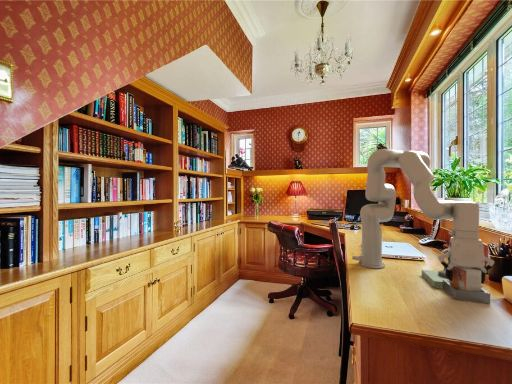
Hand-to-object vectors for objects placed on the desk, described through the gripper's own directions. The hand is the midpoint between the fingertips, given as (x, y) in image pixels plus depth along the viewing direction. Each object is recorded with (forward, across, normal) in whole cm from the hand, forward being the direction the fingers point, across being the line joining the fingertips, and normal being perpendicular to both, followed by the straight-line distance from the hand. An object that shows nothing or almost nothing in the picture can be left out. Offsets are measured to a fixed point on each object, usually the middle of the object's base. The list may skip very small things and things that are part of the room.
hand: (464, 281), depth 97 cm
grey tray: (+5, 0, 0) cm, 5 cm away
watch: (+6, +7, +32) cm, 33 cm away
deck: (+5, 0, +14) cm, 15 cm away
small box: (+6, 0, 0) cm, 6 cm away
